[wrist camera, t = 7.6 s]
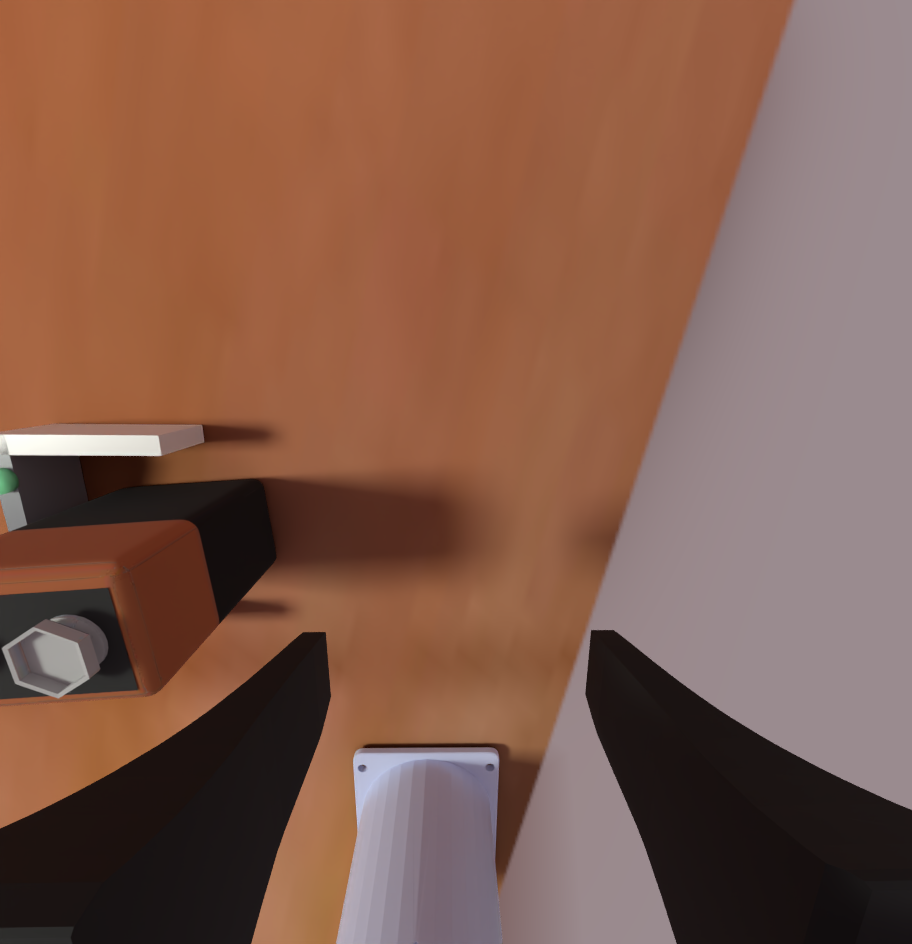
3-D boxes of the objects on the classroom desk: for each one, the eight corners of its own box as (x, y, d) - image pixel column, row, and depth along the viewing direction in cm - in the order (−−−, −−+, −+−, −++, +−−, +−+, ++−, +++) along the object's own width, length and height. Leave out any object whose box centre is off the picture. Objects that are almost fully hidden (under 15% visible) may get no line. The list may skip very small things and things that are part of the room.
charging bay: (228, 613, 22) (189, 656, 18) (94, 613, 22) (31, 657, 18) (202, 424, 19) (152, 436, 16) (51, 423, 19) (-29, 435, 16)
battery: (281, 561, 21) (138, 729, 11) (143, 570, 21) (-118, 746, 11) (265, 475, 20) (92, 580, 10) (121, 485, 20) (-189, 599, 10)
